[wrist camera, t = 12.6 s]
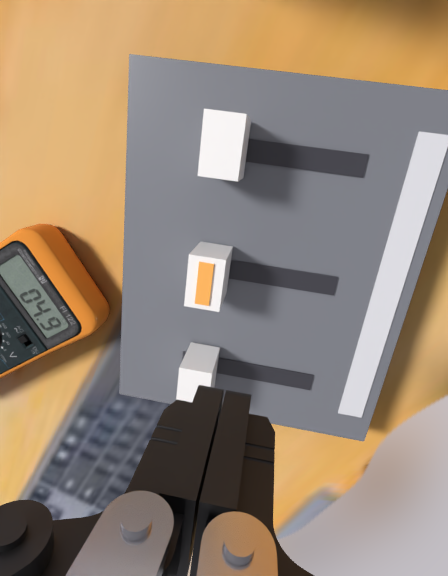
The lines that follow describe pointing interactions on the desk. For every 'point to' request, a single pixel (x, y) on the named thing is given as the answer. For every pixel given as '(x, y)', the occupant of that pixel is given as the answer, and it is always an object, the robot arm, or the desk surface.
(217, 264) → the breaker
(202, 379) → the breaker
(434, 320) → the desk surface
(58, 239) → the multimeter
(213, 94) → the slider switch panel
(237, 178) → the block
